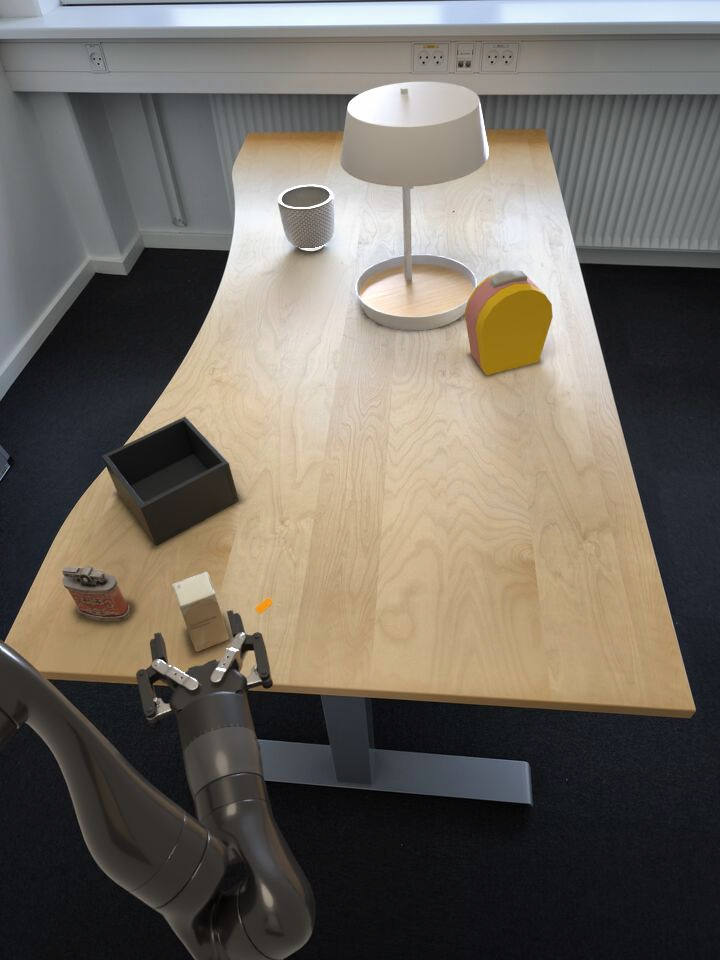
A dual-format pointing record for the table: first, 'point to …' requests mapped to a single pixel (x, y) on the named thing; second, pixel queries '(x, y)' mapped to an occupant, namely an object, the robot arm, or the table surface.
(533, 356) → the alarm clock
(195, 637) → the box
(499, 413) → the table surface
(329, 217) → the planter
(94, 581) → the lighter
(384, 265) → the lamp
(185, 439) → the bin
